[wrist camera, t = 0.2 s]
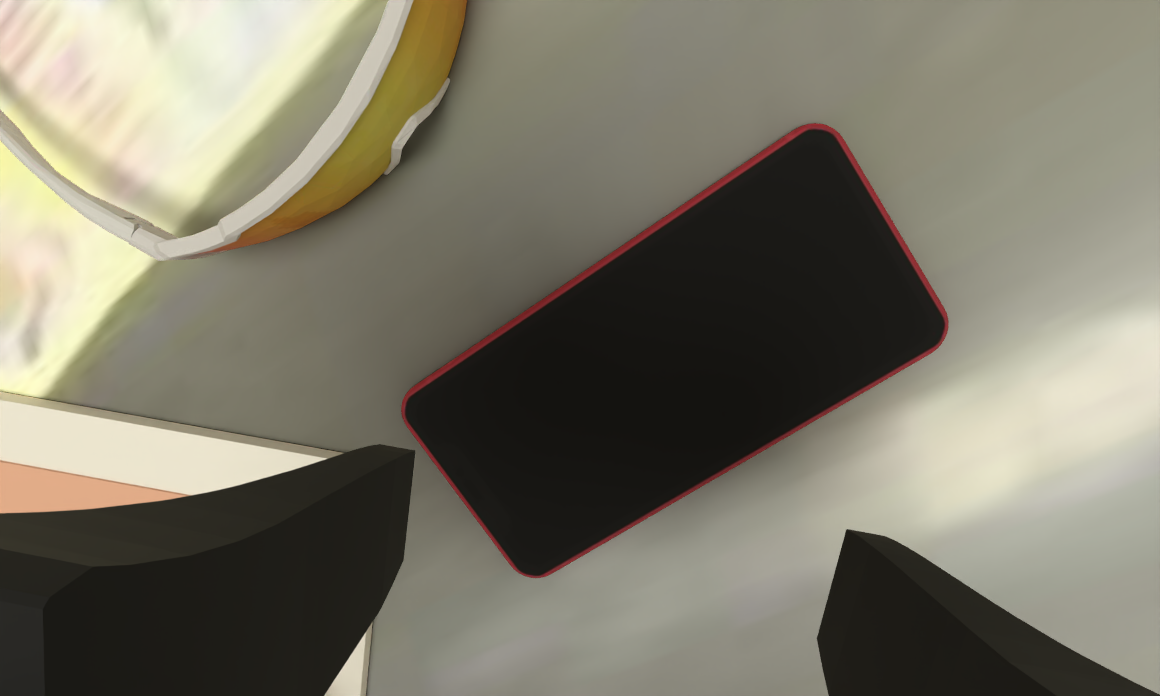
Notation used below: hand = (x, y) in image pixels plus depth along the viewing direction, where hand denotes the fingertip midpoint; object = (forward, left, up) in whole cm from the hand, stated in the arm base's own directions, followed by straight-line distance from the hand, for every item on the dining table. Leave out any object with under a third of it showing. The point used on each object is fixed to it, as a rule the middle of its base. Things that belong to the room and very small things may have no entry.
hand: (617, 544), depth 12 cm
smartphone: (+1, -1, -11) cm, 11 cm away
